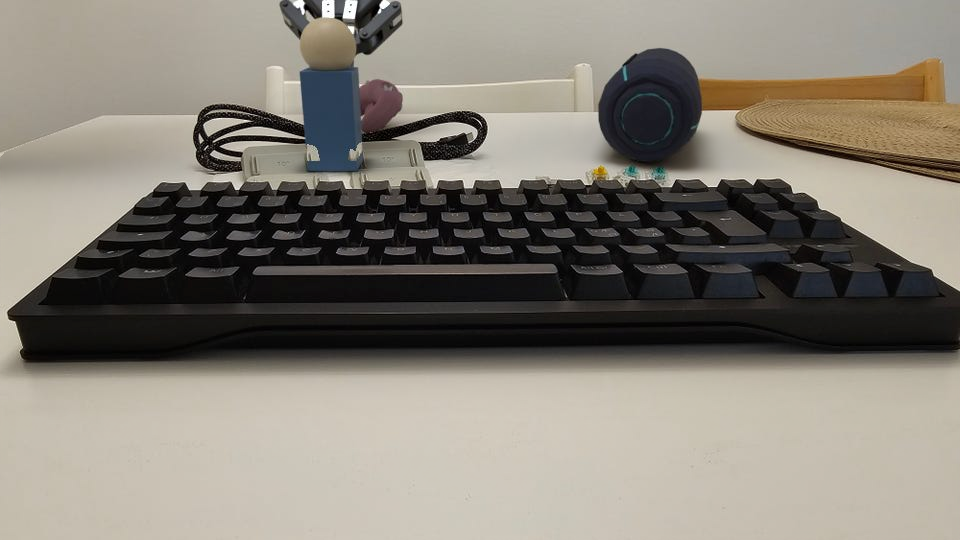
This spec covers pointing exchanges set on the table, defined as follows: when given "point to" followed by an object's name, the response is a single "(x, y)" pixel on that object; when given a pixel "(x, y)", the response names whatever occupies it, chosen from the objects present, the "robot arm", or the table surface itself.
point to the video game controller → (378, 104)
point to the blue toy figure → (330, 94)
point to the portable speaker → (651, 105)
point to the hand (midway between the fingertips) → (337, 81)
